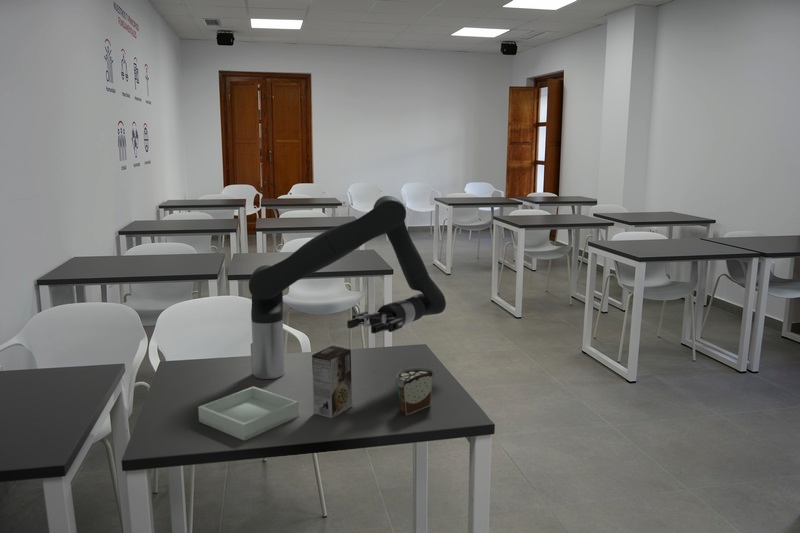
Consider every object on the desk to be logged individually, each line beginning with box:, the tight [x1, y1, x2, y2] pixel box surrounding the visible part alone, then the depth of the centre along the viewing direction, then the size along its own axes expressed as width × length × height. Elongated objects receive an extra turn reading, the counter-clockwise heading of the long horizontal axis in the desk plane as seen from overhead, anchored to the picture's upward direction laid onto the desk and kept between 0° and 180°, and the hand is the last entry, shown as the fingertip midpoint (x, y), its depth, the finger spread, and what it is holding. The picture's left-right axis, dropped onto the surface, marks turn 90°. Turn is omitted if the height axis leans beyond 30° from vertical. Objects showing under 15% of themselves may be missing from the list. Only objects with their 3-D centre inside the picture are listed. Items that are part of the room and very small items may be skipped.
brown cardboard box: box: [311, 345, 353, 419], centre depth 167 cm, size 9×6×16 cm
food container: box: [395, 366, 436, 416], centre depth 170 cm, size 12×6×10 cm, turn 134°
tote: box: [197, 386, 300, 442], centre depth 163 cm, size 18×18×4 cm
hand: (360, 327), depth 174 cm, fingers open, 8 cm apart
